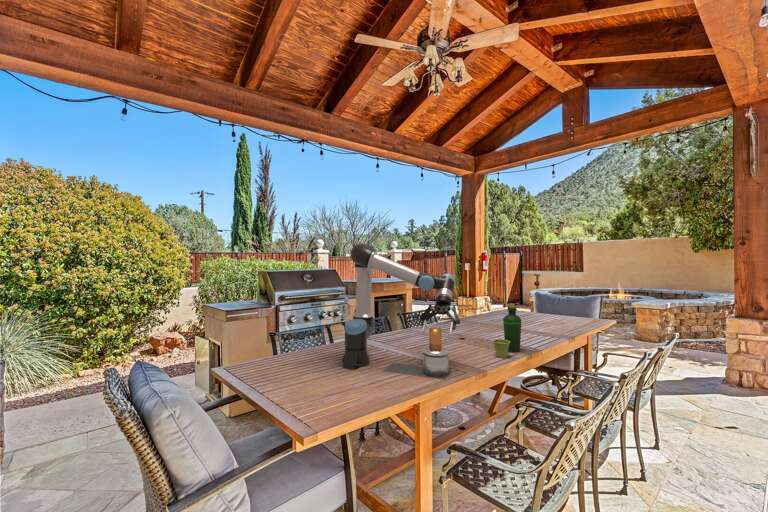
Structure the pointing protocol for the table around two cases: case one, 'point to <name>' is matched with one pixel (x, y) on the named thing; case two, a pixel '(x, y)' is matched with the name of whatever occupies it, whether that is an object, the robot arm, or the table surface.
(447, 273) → the robot arm
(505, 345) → the plant pot
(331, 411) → the table surface
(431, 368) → the cylinder
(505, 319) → the bottle
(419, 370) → the stove mat
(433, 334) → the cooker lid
